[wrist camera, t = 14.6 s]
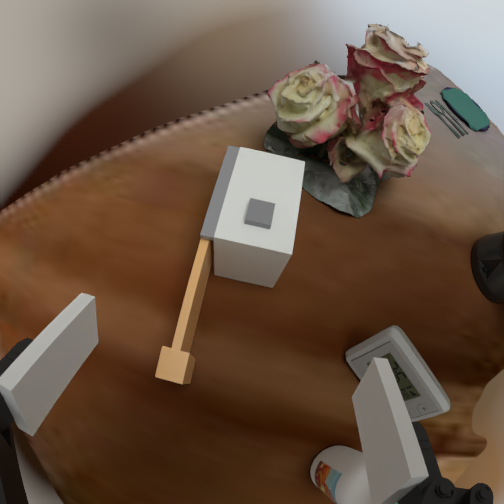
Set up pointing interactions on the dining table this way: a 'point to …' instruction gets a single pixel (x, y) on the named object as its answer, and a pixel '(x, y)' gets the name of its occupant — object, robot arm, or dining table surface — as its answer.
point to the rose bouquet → (353, 120)
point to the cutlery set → (461, 111)
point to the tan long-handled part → (187, 322)
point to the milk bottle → (341, 475)
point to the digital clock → (402, 371)
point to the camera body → (254, 215)
